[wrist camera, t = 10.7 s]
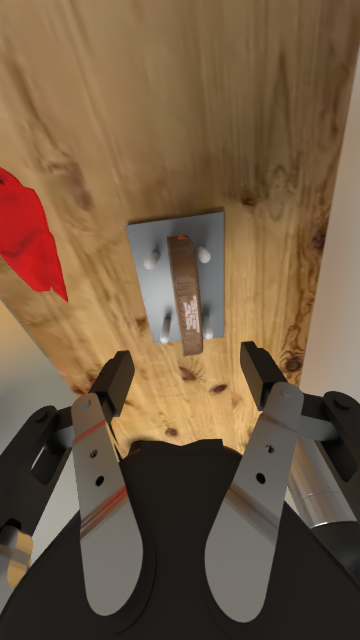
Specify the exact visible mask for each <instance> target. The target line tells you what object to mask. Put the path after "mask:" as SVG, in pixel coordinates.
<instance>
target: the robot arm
mask: <svg viewBox="0 0 360 640" xmlns="http://www.w3.org/2000/svg"><path fill="white" fill-rule="evenodd" d="M240 364H241V368H242V371H243V373H244V376H245V378H246V381H247V383H248V386H249V388H250V391H251V393H252V396H253V399H254V401H255V404H256V406H257V409H258V411H263V412H262V414H260V415H259V418H258V420H257V422H256V425H255V427H254V430H253V432H252V435H251V437H250V440H249V442H248V444H247V447H246V449H245V452H244V454H243V455H242V454H240V453H239V452H237V451H236V450H234V449H232V448H229V447H227V446H223V442H222V439H202V440H199V441H196V442H193V443H190V444H187V445H183V446H178V445H174V444H171V443H167V442H163V441H142V442H141V447H140V449H138V450H136V451H134V452H132V453H130V454H129V455H127V456H126V457H125V458H124V456H123V453H122V451H121V448H120V446H119V443H118V440H117V437H116V435H115V432H114V429H113V427H112V424H111V420H112V418H113V417H120V414H121V411H122V408H123V405H124V402H125V399H126V397H127V394H128V391H129V388H130V385H131V382H132V379H133V376H134V372H135V368H134V364H133V361H132V357H131V354H130V352H129V351H128V350H126V351H118V352H117V353H116V355H115V357H114V358H113V359H110V360H109V361H108V362H107V363H106V364H105V365H104V367H103V368H102V371H101V372H100V373H99V376H98V377H97V379H96V380H95V382H94V384H93V385H92V387H91V389H90V391H89V392H88V393H87V394H84V395H82V396H81V397H79V398H78V399H77V400H76V401H75V402H74V403H73V405H72V406H70V407H67V408H64V409H61V410H58V411H57V409H56V408H55V407H54V406H51V405H50V406H46V407H43V408H41V409H39V410H37V411H36V412H35V413H33V414H32V415H31V416H30V417H29V419H28V420H27V421H26V422H25V424H24V425H23V426H22V428H21V429H20V430H19V432H18V433H17V434H16V436H15V437H14V438H13V439H12V441H11V442H10V443H9V445H8V446H7V447H6V449H5V450H4V451H3V453H2V454H1V455H0V640H360V404H359V403H358V402H357V401H356V400H355V399H353V398H352V397H350V396H348V395H346V394H344V393H341V392H336V391H330V392H326V393H325V394H324V396H323V397H320V396H315V395H309V394H305V393H302V391H301V390H300V389H299V388H298V387H296V386H295V385H293V384H291V383H288V381H287V380H286V378H285V377H284V375H283V374H282V372H281V371H280V369H279V368H278V366H277V365H276V363H275V361H274V360H273V359H272V357H271V355H270V354H269V352H267V351H266V350H264V349H263V348H257V346H256V345H255V343H254V342H253V341H247V342H241V350H240ZM42 447H44V450H43V451H42V453H41V455H40V457H39V459H38V460H37V462H36V464H35V465H34V467H33V469H32V470H31V468H32V465H33V463H34V461H35V459H36V458H37V456H38V454H39V453H40V451H41V449H42ZM71 450H72V451H73V458H74V467H75V475H76V483H77V491H78V499H79V506H80V509H79V511H78V512H77V513H76V514H75V515H74V516H73V518H72V519H71V520H70V521H69V523H68V524H67V525H66V526H65V527H64V528H63V529H62V531H61V532H60V533H59V534H58V535H57V536H56V538H55V539H54V540H53V541H52V542H51V544H50V545H49V546H48V547H47V548H46V549H45V550H44V552H43V553H42V554H41V555H40V556H39V558H38V559H37V560H36V561H35V562H34V563H33V565H32V566H31V567H30V565H31V554H32V549H33V540H32V536H33V533H34V531H35V529H36V527H37V525H38V522H39V520H40V518H41V516H42V514H43V512H44V509H45V507H46V505H47V503H48V501H49V498H50V496H51V494H52V492H53V490H54V488H55V485H56V483H57V481H58V479H59V477H60V475H61V472H62V470H63V468H64V466H65V464H66V461H67V459H68V457H69V455H70V453H71ZM287 486H288V488H289V491H290V493H291V495H292V498H293V501H294V503H295V505H296V508H297V511H298V513H299V516H300V517H299V516H298V515H297V513H296V512H295V511H294V510H293V509H292V508H291V507H290V506H289V505H288V504H287V502H286V501H285V500H284V498H285V494H286V489H287ZM29 567H30V568H29Z"/></svg>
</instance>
